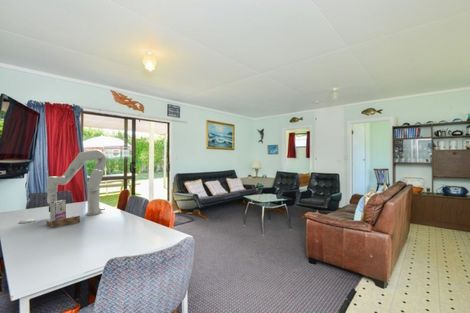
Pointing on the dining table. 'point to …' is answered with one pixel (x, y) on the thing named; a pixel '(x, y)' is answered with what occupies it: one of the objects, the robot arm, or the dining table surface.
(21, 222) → the white dome
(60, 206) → the candy bar box
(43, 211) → the dining table surface
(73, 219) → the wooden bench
